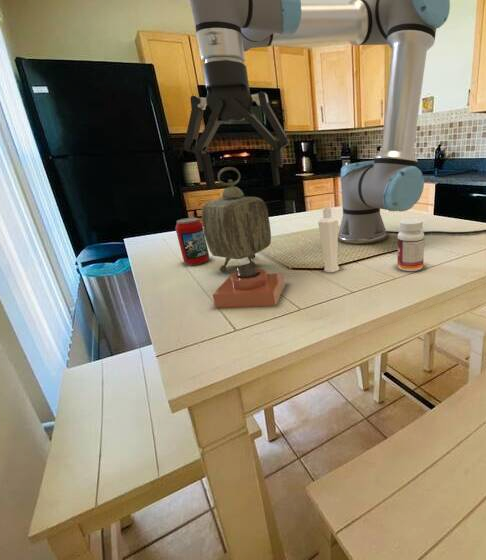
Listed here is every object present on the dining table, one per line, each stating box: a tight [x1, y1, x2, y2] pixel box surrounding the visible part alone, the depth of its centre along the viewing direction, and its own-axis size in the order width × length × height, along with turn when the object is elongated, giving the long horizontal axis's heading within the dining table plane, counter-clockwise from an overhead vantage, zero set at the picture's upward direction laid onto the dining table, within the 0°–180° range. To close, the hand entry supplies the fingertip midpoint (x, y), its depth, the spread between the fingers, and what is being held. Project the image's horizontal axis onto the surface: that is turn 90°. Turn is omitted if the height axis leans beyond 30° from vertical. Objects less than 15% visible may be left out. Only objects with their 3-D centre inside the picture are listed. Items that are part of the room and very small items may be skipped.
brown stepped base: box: [212, 267, 286, 309], centre depth 70 cm, size 12×10×5 cm
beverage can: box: [175, 217, 210, 266], centre depth 93 cm, size 7×7×12 cm
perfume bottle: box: [317, 207, 340, 273], centre depth 80 cm, size 5×4×15 cm
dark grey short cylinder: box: [236, 263, 259, 278], centre depth 69 cm, size 4×4×2 cm
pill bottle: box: [397, 218, 425, 272], centre depth 79 cm, size 6×6×11 cm
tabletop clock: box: [201, 166, 272, 273], centre depth 84 cm, size 14×9×25 cm, turn 152°
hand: (244, 186), depth 68 cm, fingers open, 13 cm apart
